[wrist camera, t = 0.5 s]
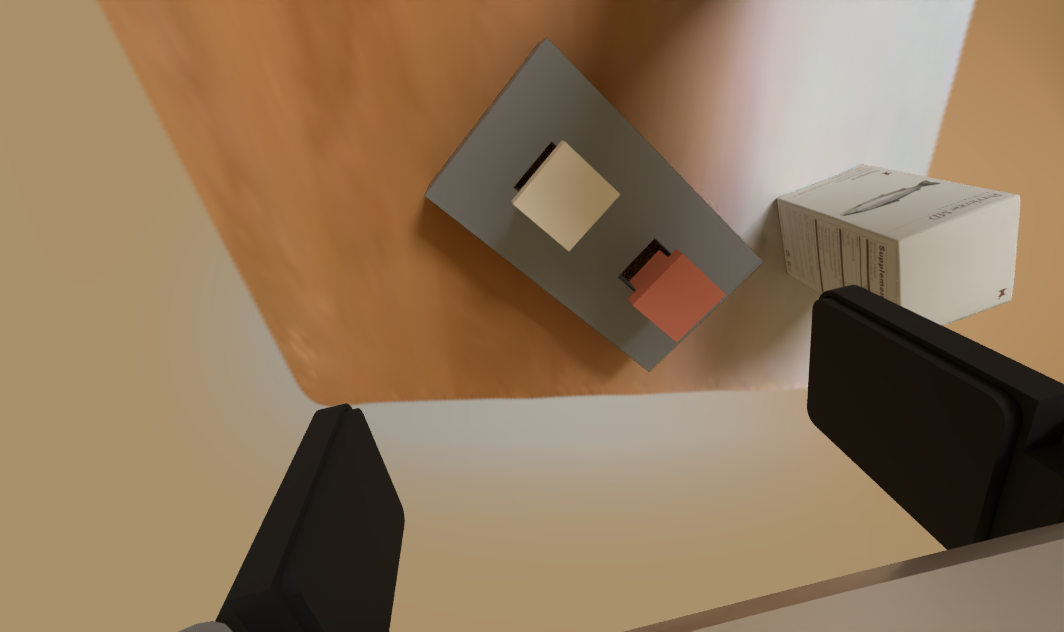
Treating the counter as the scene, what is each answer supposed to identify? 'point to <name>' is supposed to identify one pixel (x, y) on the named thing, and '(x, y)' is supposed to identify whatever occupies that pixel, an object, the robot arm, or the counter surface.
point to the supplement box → (904, 240)
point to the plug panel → (623, 229)
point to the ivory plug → (565, 196)
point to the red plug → (673, 293)
